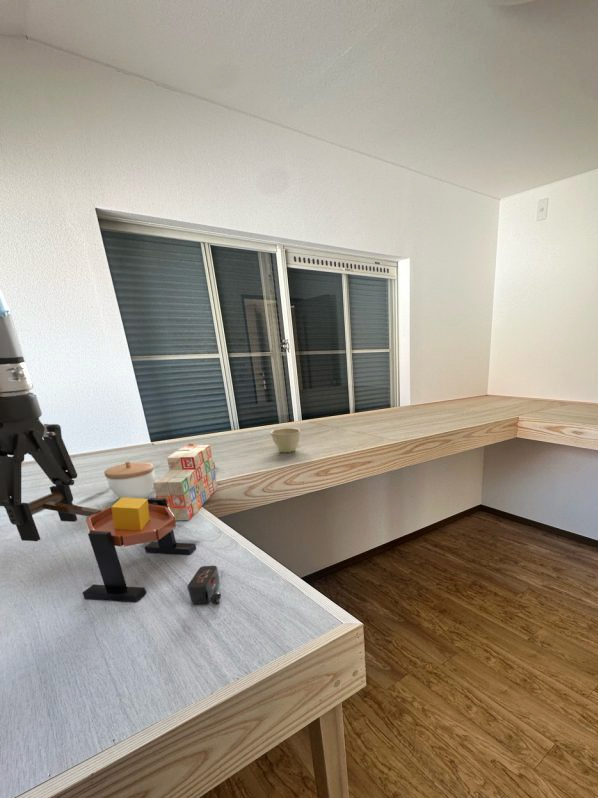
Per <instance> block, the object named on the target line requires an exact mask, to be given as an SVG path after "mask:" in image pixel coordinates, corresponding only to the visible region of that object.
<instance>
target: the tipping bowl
mask: <svg viewBox="0 0 598 798" xmlns="http://www.w3.org/2000/svg"><path fill="white" fill-rule="evenodd" d="M63 501H64V496H63V494H62V493H60V492H53V493H51V492H50V493H49V494H47V495H44V496H41V497H39V498H36V499H34V500H32V501H30V502H27V503H28V506H29V509H30V511H31V514H32V516H33V515H36V514H38V513H40V512H42V511H45V510H49V511H54V512H58V511H60V512H65V513H71V514H76V516H77V515H79V516H83V517H86V518H85V523H86V528H87V533H90V532H92V531H103V532H111V535H112V538H113V542H114V545H115V547H119V548H120V547H130V546H136V545H140V544H146V543H151V542H158V540H160V539H161V538H162V537H164V536H165V535H166V534H168V533H169V532H170V531H172V530H173V531H174V530H175V529H176V526H177V525H176V520H175V517H174V515H173V514H172V512H171V511H170V509H169V508H168V507H166V506H160V505H159V504H158V503H156V502H153V503H152V504H149V503H148V509H149V518H150V520H149V521H148V522H147V524H146V525H145V526H144V527H143V529H142V530H121V529H114V523H113V517H112V510H111V507H112V506H113V505H109V506H106V507H105V508H103V509H98V508H92V507H86V506H80V505H74V504H73V505H69V504H63V503H61V502H63ZM157 539H158V540H157Z"/></svg>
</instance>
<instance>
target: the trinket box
mask: <svg viewBox="0 0 598 798" xmlns="http://www.w3.org/2000/svg"><path fill="white" fill-rule="evenodd" d="M103 473H104V477H105V479H106V481H107V484H108V486H109V488H110V490H111V492H112V493H113V494H114V495H115V496H117V497H118V498H119V499H120V498H121V497H124V498H142V499H148V498H150V496H149V495H151V493H153V491H154V486H153V482H154V481H156V476H155V475H156V474H155V467H154V465H153V464H152V463H150V462H141V461H140V462H139V461H138V462H130V461H125V462H124V463H123V464H122V463H121V464H117V465H114V466H111V467H108V468H107V469H105V470H104V472H103Z"/></svg>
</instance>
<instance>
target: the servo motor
mask: <svg viewBox="0 0 598 798" xmlns="http://www.w3.org/2000/svg"><path fill="white" fill-rule="evenodd" d="M220 582H221V580H220V575H219V571H218V566H217V565H203V566H200V567H199V568H198V569H197V571H196V573H195V574H194V575H193V577H192V578H191V580H190V581H189V583H188V584H187V590H188V594H189V599H190V602H191V603H192V604H194V605H198V604H200V605H201V604H208V603H209V602H210V604H211V605H215V606H218V605H220V603H221V601H220V600H221V599H222V594H221V592H215V591H216V589H217V588H218V586H219V584H220Z"/></svg>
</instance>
